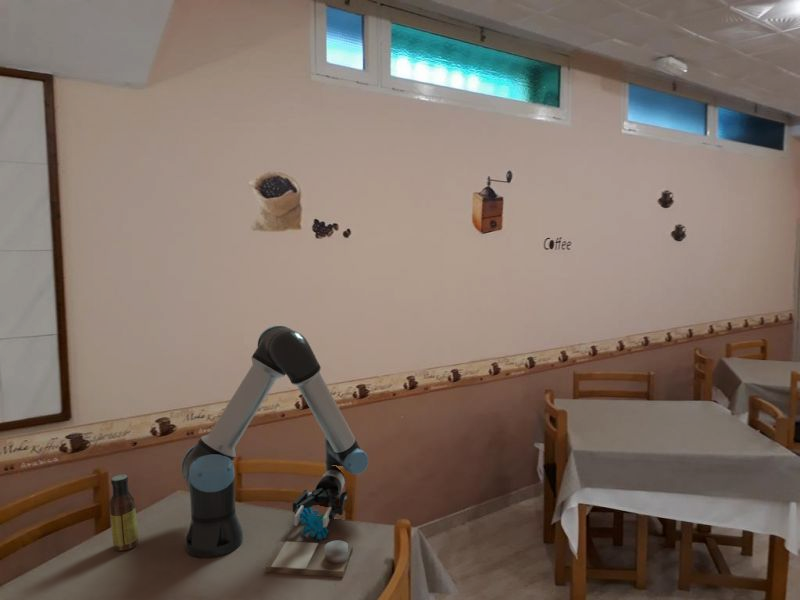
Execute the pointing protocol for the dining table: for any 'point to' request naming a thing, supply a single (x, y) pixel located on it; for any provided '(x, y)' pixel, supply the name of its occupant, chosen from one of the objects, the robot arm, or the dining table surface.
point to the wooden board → (310, 558)
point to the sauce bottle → (123, 515)
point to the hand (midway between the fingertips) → (310, 521)
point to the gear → (313, 523)
